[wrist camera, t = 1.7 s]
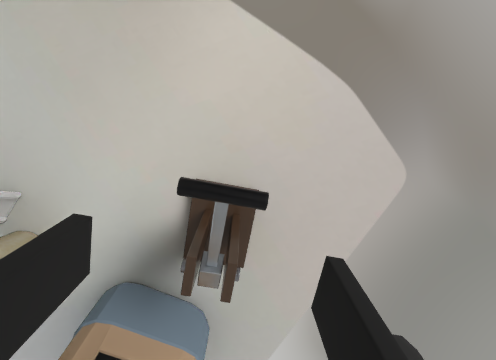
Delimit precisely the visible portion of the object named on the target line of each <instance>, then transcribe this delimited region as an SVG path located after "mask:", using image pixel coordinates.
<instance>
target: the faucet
mask: <svg viewBox="0 0 496 360" xmlns="http://www.w3.org/2000/svg"><path fill="white" fill-rule="evenodd" d="M20 196H21V192H8V191H0V223H4V222H5V221H6V220H7V216H8V215H9V213H10V211H11V210H12V208H13V206H14V205H15V203H16V201H17V200H18V199H19V198H20Z"/></svg>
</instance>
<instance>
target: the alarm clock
mask: <svg viewBox="0 0 496 360" xmlns="http://www.w3.org/2000/svg"><path fill="white" fill-rule="evenodd" d="M208 335H209V325H208V322H207V319H206V317H205V315H204V313H203V311H201V310H200V309H199V308H197V307H196V306H194V305H193V304H191V303H189V302H187V301H184V300H181V299H179V298H176V297H173V296H171V295H168V294H166V293H163V292H160V291H158V290H155V289H152V288H150V287H147V286H144V285H141V284H134V283H127V282H125V283H122V284H119V285H116V286H114V287H112V288H111V289H109V290H107V291H106V292H105V293H104V295H103V296H102V297H101V298H100V299H99V301H98V302H97V303H96V305H95V306H94V308H93V309H92V310H91V312H90V313H89V314H88V316H87V317H86V318H85V320H84V321H83V323H82V324H81V325H80V327H79V328H78V329H77V331H76V332H75V334H74V337H73V339H72V341H71V342H70V344H69V345H68V347H67V348H66V349H65V351H64V352H63V354H62V355H61V357H60V358H59V359H58V360H204V358H205V352H206V346H207V341H208Z"/></svg>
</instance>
